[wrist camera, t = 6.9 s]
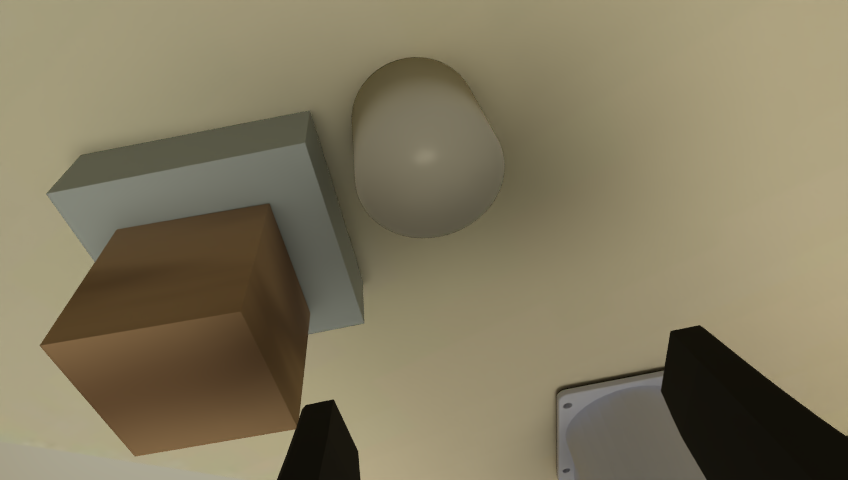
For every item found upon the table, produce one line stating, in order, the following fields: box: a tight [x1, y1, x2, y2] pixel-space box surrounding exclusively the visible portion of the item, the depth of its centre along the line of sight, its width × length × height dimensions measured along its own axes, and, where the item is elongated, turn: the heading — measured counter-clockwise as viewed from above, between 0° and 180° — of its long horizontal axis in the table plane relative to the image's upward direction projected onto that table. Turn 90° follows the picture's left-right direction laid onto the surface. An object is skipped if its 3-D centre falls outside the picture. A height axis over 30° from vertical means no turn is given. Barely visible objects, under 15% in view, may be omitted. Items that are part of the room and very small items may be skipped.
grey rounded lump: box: [352, 58, 505, 238], centre depth 17 cm, size 4×4×4 cm
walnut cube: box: [40, 204, 310, 456], centre depth 16 cm, size 5×5×5 cm
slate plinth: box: [46, 111, 364, 334], centre depth 19 cm, size 8×8×3 cm
